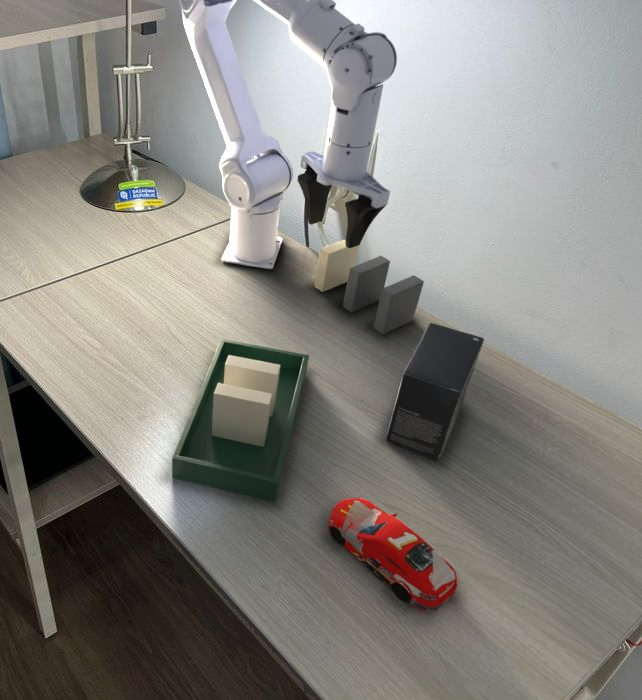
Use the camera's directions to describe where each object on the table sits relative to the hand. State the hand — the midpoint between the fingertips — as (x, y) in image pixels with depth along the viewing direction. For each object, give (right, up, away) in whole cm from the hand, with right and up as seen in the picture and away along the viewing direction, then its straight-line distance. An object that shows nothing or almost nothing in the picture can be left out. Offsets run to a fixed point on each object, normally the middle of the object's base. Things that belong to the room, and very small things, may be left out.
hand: (333, 233), depth 96 cm
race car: (-2, -36, -30) cm, 47 cm away
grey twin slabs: (+6, -11, +1) cm, 13 cm away
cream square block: (+2, -6, +7) cm, 10 cm away
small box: (+7, -25, -15) cm, 30 cm away
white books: (-14, -25, -16) cm, 32 cm away
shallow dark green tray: (-14, -25, -16) cm, 32 cm away
